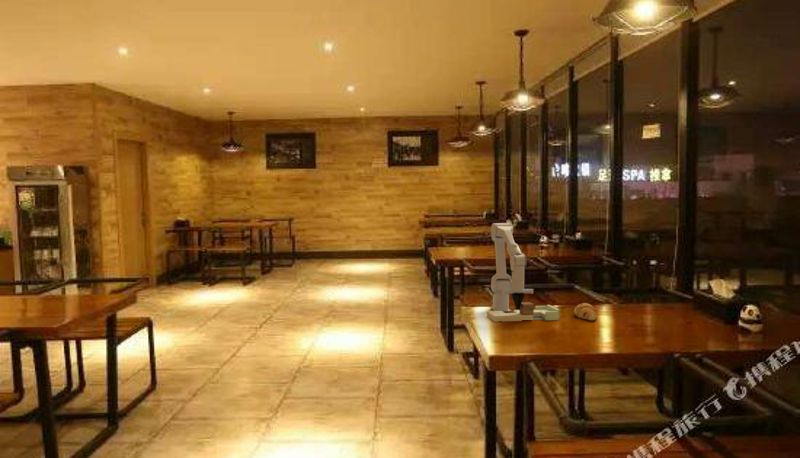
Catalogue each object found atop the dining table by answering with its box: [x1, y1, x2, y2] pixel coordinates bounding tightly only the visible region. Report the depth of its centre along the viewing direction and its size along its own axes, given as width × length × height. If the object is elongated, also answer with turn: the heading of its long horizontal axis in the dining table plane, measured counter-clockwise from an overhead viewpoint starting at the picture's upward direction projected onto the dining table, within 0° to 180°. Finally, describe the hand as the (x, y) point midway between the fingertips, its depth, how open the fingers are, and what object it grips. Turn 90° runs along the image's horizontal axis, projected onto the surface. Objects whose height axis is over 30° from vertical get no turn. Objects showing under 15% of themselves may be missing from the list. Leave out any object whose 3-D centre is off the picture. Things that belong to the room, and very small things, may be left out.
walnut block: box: [519, 301, 535, 315], centre depth 276 cm, size 5×5×5 cm
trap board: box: [486, 304, 560, 323], centre depth 279 cm, size 14×31×5 cm, turn 98°
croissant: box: [573, 302, 598, 321], centre depth 281 cm, size 21×10×8 cm, turn 2°
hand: (517, 309), depth 275 cm, fingers closed
